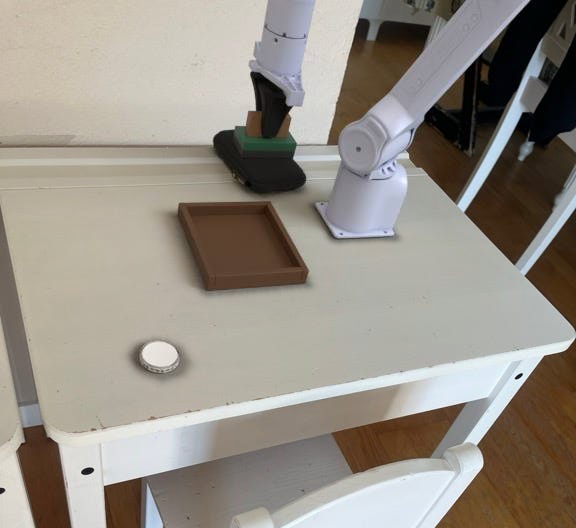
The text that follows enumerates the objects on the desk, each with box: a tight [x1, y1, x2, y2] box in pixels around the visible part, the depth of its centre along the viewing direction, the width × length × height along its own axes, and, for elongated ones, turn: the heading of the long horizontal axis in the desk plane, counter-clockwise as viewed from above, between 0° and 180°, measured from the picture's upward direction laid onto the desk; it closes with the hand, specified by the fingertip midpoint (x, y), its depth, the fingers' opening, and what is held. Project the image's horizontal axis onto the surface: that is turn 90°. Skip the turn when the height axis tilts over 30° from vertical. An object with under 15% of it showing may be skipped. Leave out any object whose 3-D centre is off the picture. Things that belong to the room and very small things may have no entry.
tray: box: [177, 200, 310, 292], centre depth 78 cm, size 13×15×2 cm
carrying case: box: [212, 128, 307, 195], centre depth 91 cm, size 11×3×15 cm
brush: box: [233, 110, 298, 159], centre depth 88 cm, size 4×8×5 cm, turn 110°
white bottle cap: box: [139, 339, 181, 374], centre depth 63 cm, size 4×4×1 cm
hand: (266, 131), depth 88 cm, fingers closed on brush
